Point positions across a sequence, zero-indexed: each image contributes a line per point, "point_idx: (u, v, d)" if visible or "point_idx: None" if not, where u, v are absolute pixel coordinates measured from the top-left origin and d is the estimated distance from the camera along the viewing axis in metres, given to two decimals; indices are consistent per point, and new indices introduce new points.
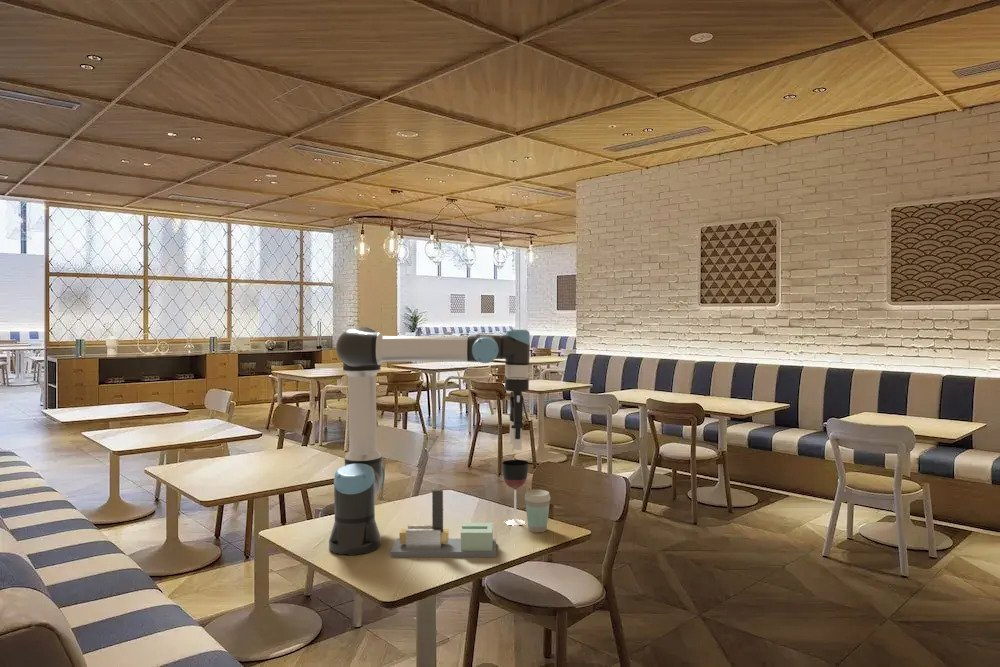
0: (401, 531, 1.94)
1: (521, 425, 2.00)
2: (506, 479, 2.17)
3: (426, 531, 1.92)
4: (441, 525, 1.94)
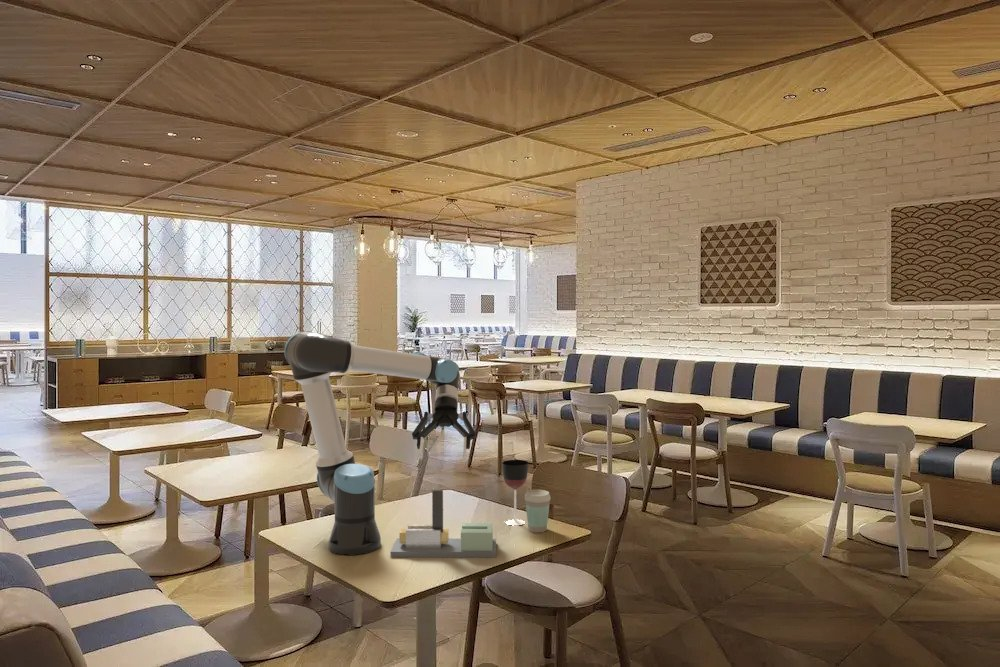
0: (401, 531, 1.94)
1: (475, 437, 2.12)
2: (506, 479, 2.17)
3: (426, 531, 1.92)
4: (441, 525, 1.94)
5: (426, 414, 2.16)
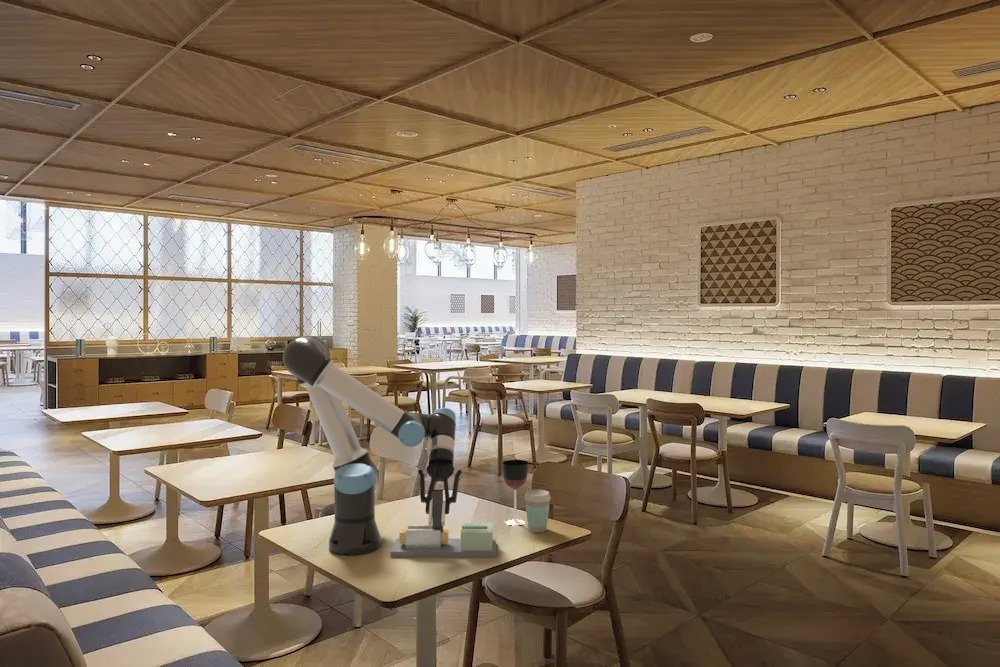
0: (401, 531, 1.94)
1: (455, 501, 1.97)
2: (506, 479, 2.17)
3: (426, 531, 1.92)
4: (441, 525, 1.94)
5: (421, 472, 2.01)
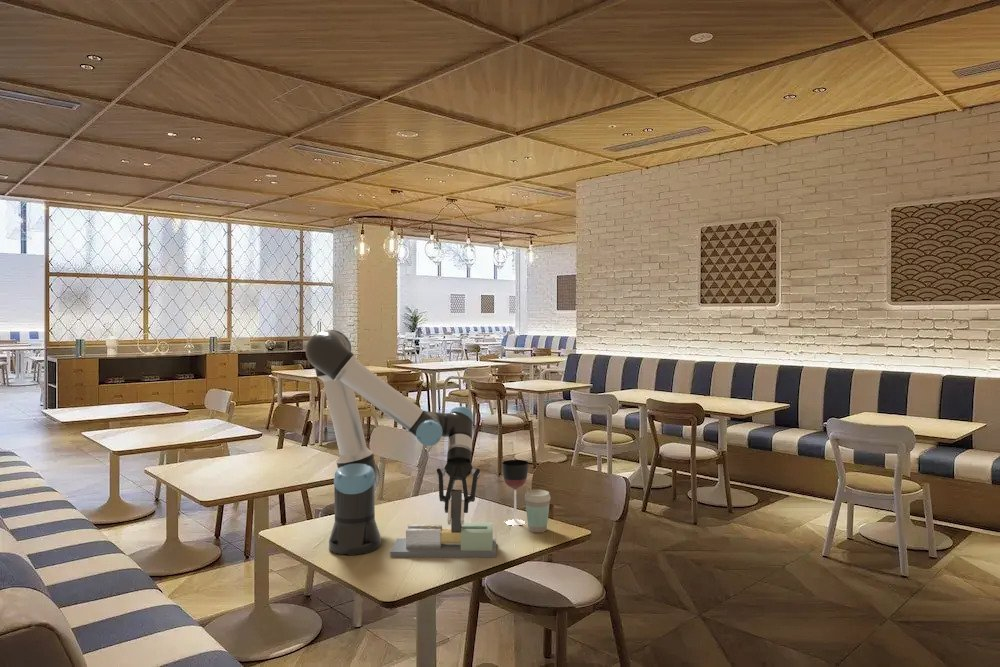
0: None
1: (474, 500, 1.97)
2: (506, 479, 2.17)
3: (426, 531, 1.92)
4: (460, 525, 1.94)
5: (439, 471, 2.01)
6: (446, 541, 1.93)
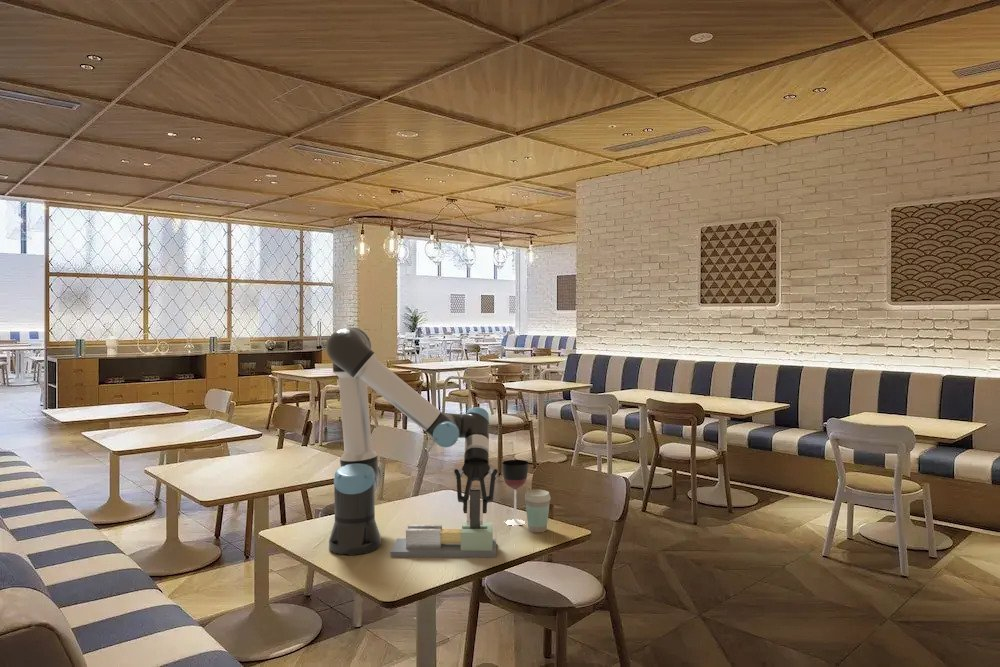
0: None
1: (492, 500, 1.97)
2: (506, 479, 2.17)
3: (426, 531, 1.92)
4: (478, 525, 1.94)
5: (457, 472, 2.01)
6: None
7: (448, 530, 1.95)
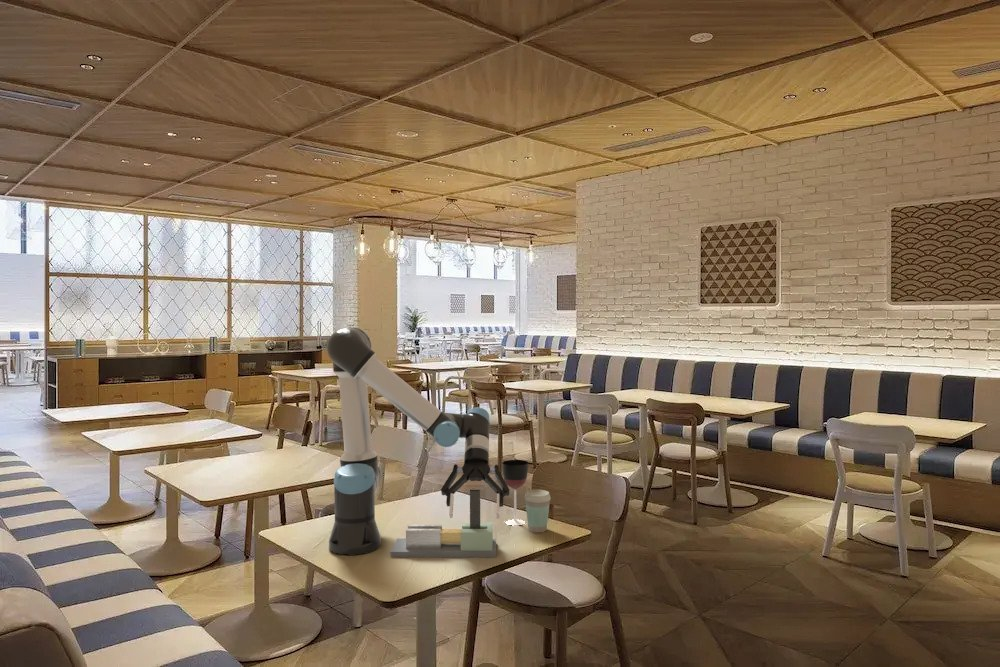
0: None
1: None
2: (506, 479, 2.17)
3: (426, 531, 1.92)
4: (478, 525, 1.94)
5: (455, 467, 2.02)
6: None
7: (448, 530, 1.95)
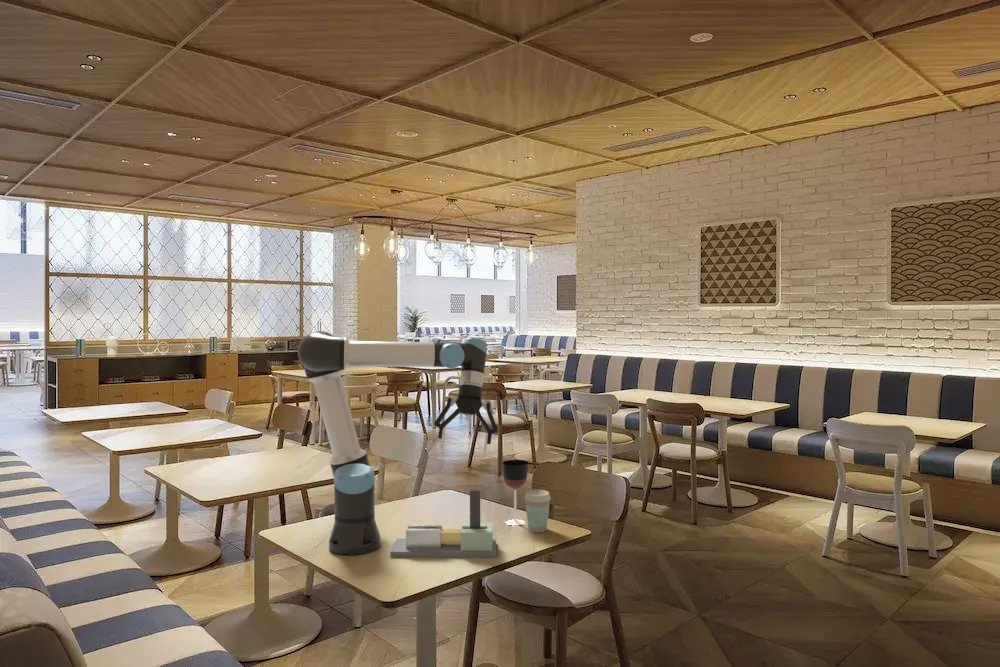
0: None
1: (497, 431, 2.13)
2: (506, 479, 2.17)
3: (426, 531, 1.92)
4: (478, 525, 1.94)
5: (449, 401, 2.13)
6: None
7: (448, 530, 1.95)
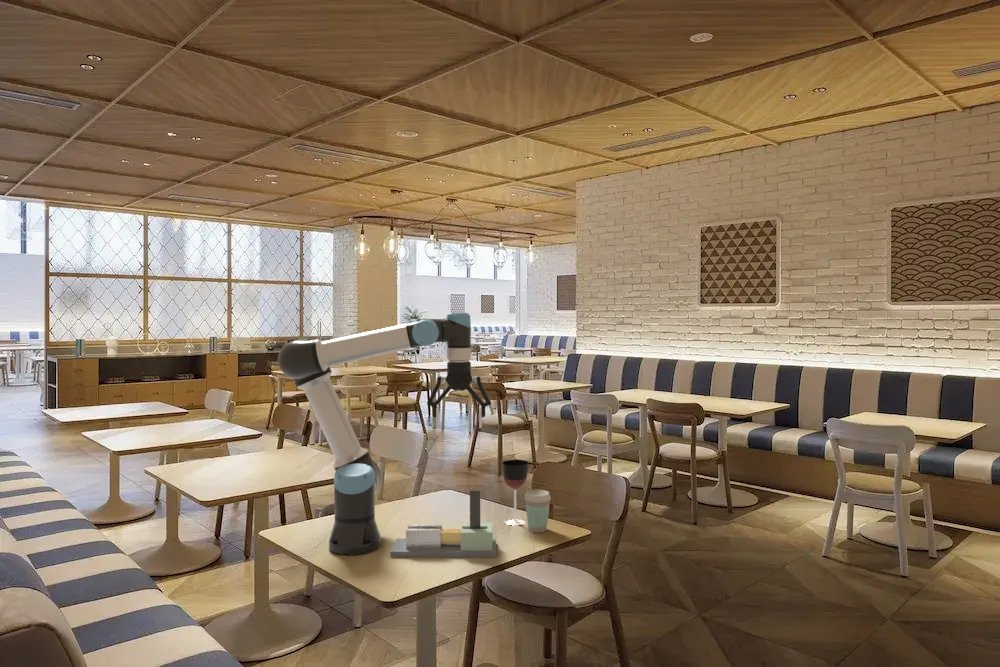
0: None
1: (490, 402, 2.13)
2: (506, 479, 2.17)
3: (426, 531, 1.92)
4: (478, 525, 1.94)
5: (439, 380, 2.11)
6: None
7: (448, 530, 1.95)
